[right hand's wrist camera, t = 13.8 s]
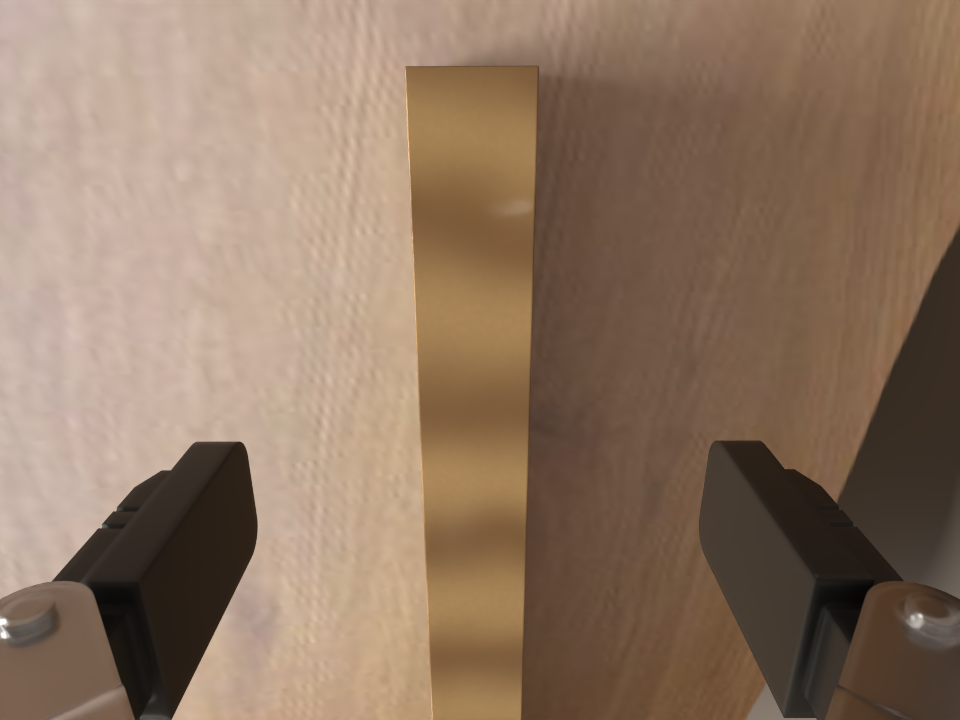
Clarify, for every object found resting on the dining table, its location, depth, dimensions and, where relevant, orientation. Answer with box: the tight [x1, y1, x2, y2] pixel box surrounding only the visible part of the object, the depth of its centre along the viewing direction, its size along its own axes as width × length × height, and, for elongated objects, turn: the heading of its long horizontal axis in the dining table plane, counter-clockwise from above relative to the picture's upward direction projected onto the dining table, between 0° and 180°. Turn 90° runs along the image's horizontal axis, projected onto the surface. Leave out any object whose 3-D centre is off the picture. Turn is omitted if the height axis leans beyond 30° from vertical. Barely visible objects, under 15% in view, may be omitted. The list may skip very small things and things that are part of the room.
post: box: [405, 66, 539, 720], centre depth 39 cm, size 56×5×9 cm, turn 0°
